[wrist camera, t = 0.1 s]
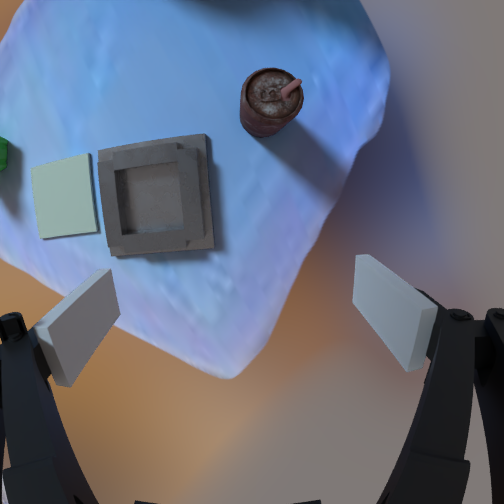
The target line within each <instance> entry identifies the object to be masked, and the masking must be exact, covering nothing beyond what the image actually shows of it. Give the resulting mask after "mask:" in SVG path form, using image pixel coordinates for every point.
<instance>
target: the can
mask: <svg viewBox="0 0 504 504" xmlns="http://www.w3.org/2000/svg"><path fill="white" fill-rule="evenodd" d="M301 83H302V80H301V79H296V78H295V77H294V76H293V75H292V74H290V73H288V72H286V71H285V70H282V69H278V68H263V69H260V70H258V71H255V72H254V73H252V74H251V75H250V76H249V77H248V78H247V79H246V81H245V82H244V84H243V86H242V90H241V99H240V122H241V124H242V126H243V128H244V129H245V130H246V131H247V132H248V133H249V134H251V135H253V136H256V137H260V138H263V137H270V136H272V135H274V134H276V133H277V132H278V131H279V130H280V129H282V128H283V127H284V126H285V125H286V124H287V123H288V122H290V121H291V120H292V119H293V118H294V117H295V116H297V115H298V113H299V111H300V110H301V108H302V105H303V100H304V96H303V89H302V87H301V85H300V84H301Z"/></svg>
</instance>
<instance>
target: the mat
mask: <svg viewBox="0 0 504 504" xmlns="http://www.w3.org/2000/svg"><path fill="white" fill-rule="evenodd" d="M31 178H32V189H33V198H34V205H35V213H36V219H37V225H38V231H39V237H40V239H42V238H49V237H56V236H64V235H71V234H79V233H87V232H95V231H98V225H97V219H96V212H95V204H94V196H93V187H92V177H91V166H90V153H86V154H82V155H77V156H73V157H69V158H65V159H62V160H58V161H54V162H50V163H47V164H43V165H40V166H36V167H33V168H31Z"/></svg>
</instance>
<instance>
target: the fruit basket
mask: <svg viewBox="0 0 504 504" xmlns="http://www.w3.org/2000/svg"><path fill="white" fill-rule="evenodd" d="M7 143H8V140H6V139H4V138H2V137H0V171H1V170H3V169H5V168H6V167H7V163H6V161H7Z"/></svg>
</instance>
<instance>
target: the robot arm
mask: <svg viewBox="0 0 504 504" xmlns="http://www.w3.org/2000/svg"><path fill="white" fill-rule="evenodd" d="M353 304H354V305H355V306H356V307H357V308H358V310H359V311H360V312H361V314H362V315H363V316H364V317H365V319H366V320H367V321H368V322H369V324H370V325H371V326H372V328H373V329H374V330H375V331H376V333H377V334H378V335H379V336H380V338H381V339H382V340H383V342H384V343H385V344H386V346H387V347H388V348H389V350H391V352H392V353H393V355H394V356H395V357H396V359H397V360H398V361H399V363H400V364H401V365H402V367H403V368H404V369H405V371H406V372H410V371H414V370H418V369H421V368H423V364H424V361H425V358H426V356H427V357H428V358H429V359H430V360H431V363H430V366H429V369H428V372H427V375H426V378H425V381H424V388H423V391H422V395H421V398H420V401H419V404H418V407H417V410H416V413H415V416H414V419H413V422H412V425H411V427H410V430H409V433H408V436H407V438H406V441H405V443H404V446H403V448H402V451H401V453H400V456H399V458H398V460H397V462H396V465H395V467H394V469H393V471H392V474H391V476H390V478H389V480H388V482H387V484H386V486H385V488H384V490H383V492H382V494H381V496H380V498H379V500H378V502H377V503H376V504H462V501H463V497H464V493H465V489H466V485H467V481H468V477H469V472H470V462H469V461H468V460H464V454H465V450H466V444H467V438H468V432H469V425H470V417H471V408H472V397H473V384H474V386H475V389H476V393H477V398H478V402H479V406H480V411H481V415H482V420H483V426H484V431H485V436H486V443H487V449H488V457H489V465H490V475H491V487H492V504H504V309H502V308H491V309H489V310H488V311H487V314H486V318H485V320H474V318H473V316H472V315H471V314H470V313H468V312H466V311H464V310H461V309H448V310H447V309H445V308H444V307H443V306H442V305H440V304H439V303H438V302H437V301H434V299H433V298H431V297H430V296H429V295H427V294H426V293H425V292H424V291H421V290H419V289H416V288H414V287H412V286H411V285H410V284H408V283H407V282H406V281H404V280H403V279H401V278H400V277H399V276H398V275H396V274H395V273H394V272H392V271H391V270H389V269H388V268H387V267H385V266H384V265H383V264H381V263H380V262H379V261H377V260H376V259H374V258H373V257H372V256H370V255H369V254H368V255H356V264H355V278H354V290H353ZM119 316H120V310H119V306H118V301H117V297H116V292H115V287H114V282H113V277H112V272H111V269H98V270H97V271H96V272H95V273H94V274H92V275H91V276H90V277H89V278H88V279H86V280H85V281H84V282H83V283H82V284H80V285H79V286H78V287H77V288H76V289H74V290H73V291H72V292H71V293H70V294H69V295H68V296H66V297H65V298H64V299H63V300H62V301H61V302H60V303H58V304H57V305H56V306H55V307H54V308H53V309H52V310H51V311H50V312H48V313H47V314H46V315H45V316H44V317H43V318H42V319H40V320H39V322H37V323H36V324H35V325H34V326H33V327H32V328H31V329H30V330H29V331H27V328H26V326H25V323H24V320H23V317H22V315H21V313H19V312H12V313H8V314H5V315H3V316H1V317H0V338H1V341H2V344H0V504H2V471H3V481H4V486H5V491H6V495H7V499H8V503H9V504H99V503H98V501H97V500H96V498H95V496H94V494H93V492H92V490H91V488H90V486H89V484H88V483H87V480H86V478H85V476H84V474H83V472H82V470H81V468H80V466H79V464H78V461H77V459H76V457H75V454H74V452H73V450H72V447H71V445H70V442H69V440H68V437H67V435H66V432H65V429H64V427H63V424H62V421H61V418H60V415H59V412H58V410H57V406H56V403H55V400H54V397H53V393H52V390H51V387H50V384H49V382H48V380H47V378H48V377H49V376H50V374H52V376H53V379H54V381H55V383H56V385H59V386H65V387H71V386H72V384H73V383H74V382H75V380H76V378H77V377H78V375H79V374H80V372H81V371H82V369H83V368H84V366H85V364H86V363H87V362H88V360H89V359H90V357H91V356H92V354H93V353H94V351H95V350H96V348H97V347H98V345H99V344H100V343H101V341H102V340H103V338H104V337H105V335H106V334H107V333H108V331H109V329H110V328H111V327H112V325H113V324H114V323H115V321H116V320H117V318H118V317H119ZM5 439H6V441H7V447H8V453H9V458H10V464H11V467H10V468H7V469H4V470H2V469H3V457H4V447H5ZM134 504H156V503H148V502H141V501H135V503H134ZM294 504H321V501H320V500H315V501H308V502H302V503H294Z"/></svg>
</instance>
